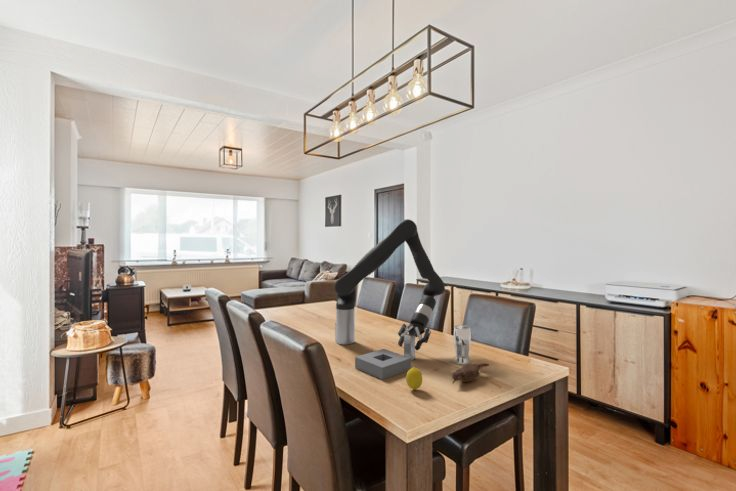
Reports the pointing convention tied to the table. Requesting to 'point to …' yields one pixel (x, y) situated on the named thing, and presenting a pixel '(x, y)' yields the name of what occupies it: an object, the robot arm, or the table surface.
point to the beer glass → (462, 344)
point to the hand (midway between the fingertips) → (407, 347)
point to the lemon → (414, 378)
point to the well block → (383, 363)
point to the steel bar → (409, 346)
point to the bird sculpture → (468, 372)
